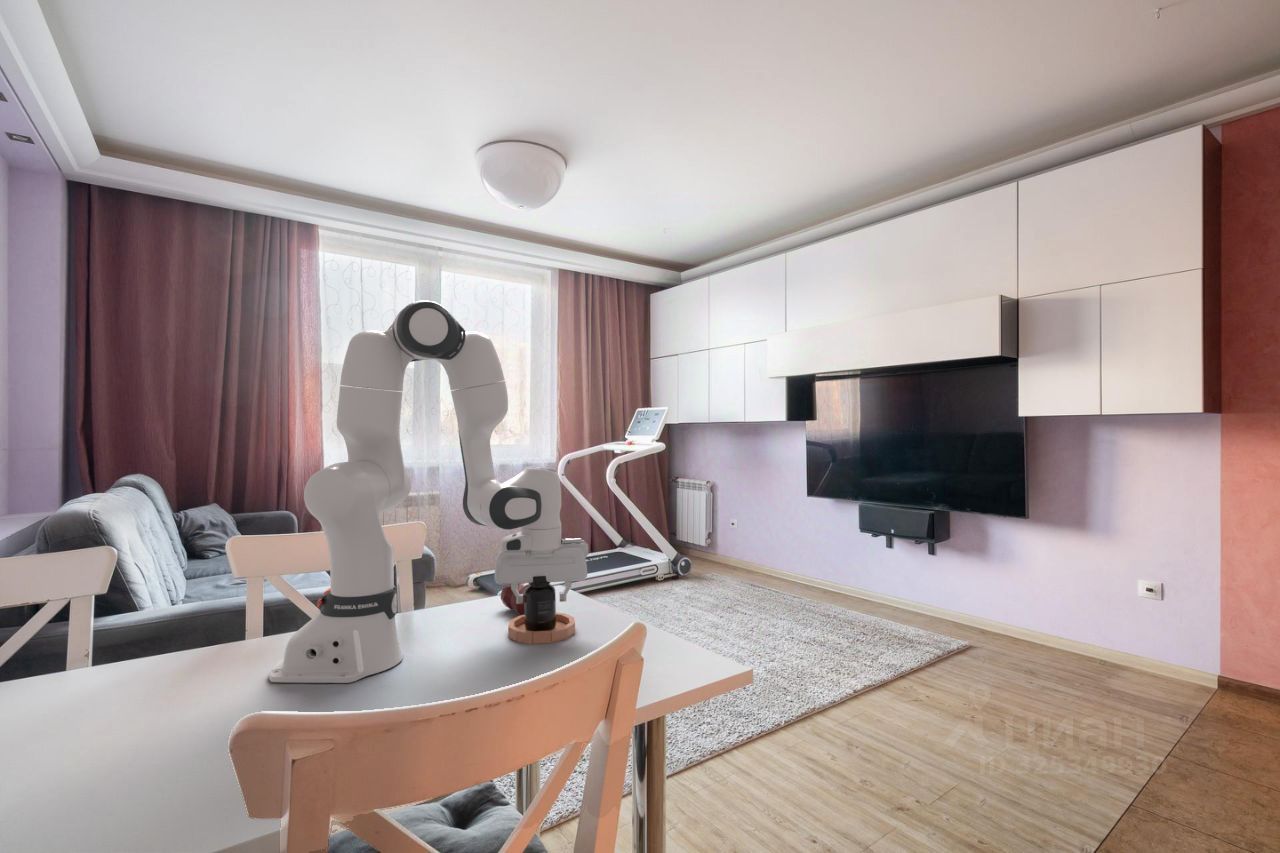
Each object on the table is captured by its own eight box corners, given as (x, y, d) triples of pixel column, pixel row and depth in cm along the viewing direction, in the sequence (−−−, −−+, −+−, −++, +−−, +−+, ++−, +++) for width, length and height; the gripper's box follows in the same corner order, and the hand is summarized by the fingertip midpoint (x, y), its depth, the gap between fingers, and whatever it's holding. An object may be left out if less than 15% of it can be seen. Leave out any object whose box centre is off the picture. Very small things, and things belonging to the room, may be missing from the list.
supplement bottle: (559, 623, 136) (558, 570, 136) (551, 634, 130) (551, 578, 130) (529, 623, 137) (529, 570, 137) (520, 633, 130) (520, 577, 130)
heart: (534, 598, 157) (498, 611, 151) (530, 570, 156) (494, 581, 150) (556, 611, 147) (519, 624, 141) (553, 580, 146) (515, 592, 140)
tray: (506, 645, 125) (506, 635, 125) (510, 623, 139) (510, 613, 139) (576, 641, 127) (576, 630, 127) (572, 619, 142) (572, 610, 142)
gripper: (587, 535, 138) (587, 595, 138) (495, 538, 135) (495, 600, 135) (589, 540, 132) (589, 603, 132) (493, 543, 129) (493, 608, 129)
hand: (541, 602), depth 133 cm, fingers open, 8 cm apart
